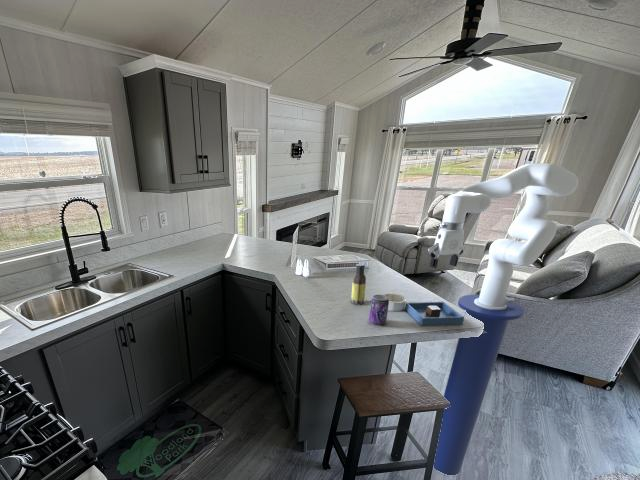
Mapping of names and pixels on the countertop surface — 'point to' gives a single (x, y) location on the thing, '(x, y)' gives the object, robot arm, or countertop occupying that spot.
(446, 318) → the tub
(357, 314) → the countertop surface
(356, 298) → the sauce bottle
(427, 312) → the block
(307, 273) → the shaker set
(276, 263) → the countertop surface
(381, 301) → the beverage can
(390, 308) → the white round bowl
